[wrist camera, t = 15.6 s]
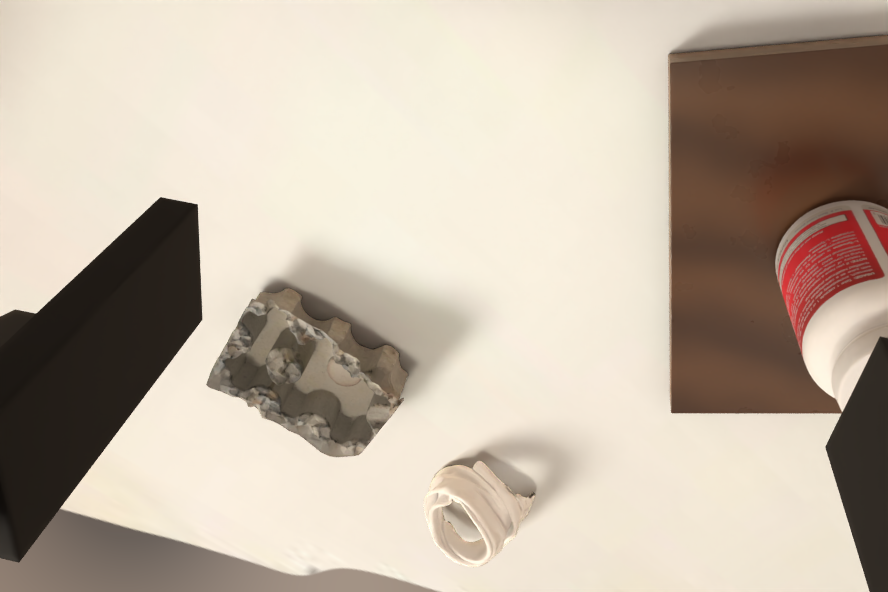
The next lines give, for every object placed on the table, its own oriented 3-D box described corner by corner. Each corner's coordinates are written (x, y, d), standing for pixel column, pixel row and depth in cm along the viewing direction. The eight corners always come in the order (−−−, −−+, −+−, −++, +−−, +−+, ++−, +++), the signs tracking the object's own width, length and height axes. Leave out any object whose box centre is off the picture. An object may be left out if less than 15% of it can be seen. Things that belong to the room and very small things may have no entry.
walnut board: (668, 53, 39) (670, 63, 38) (1059, 19, 36) (1076, 28, 35) (669, 397, 49) (671, 413, 48) (975, 396, 46) (986, 413, 45)
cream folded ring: (496, 541, 59) (491, 603, 55) (407, 509, 58) (395, 570, 54) (548, 475, 55) (547, 538, 51) (452, 439, 53) (444, 501, 50)
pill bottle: (765, 304, 44) (804, 449, 34) (782, 194, 40) (831, 321, 31) (895, 309, 42) (973, 460, 33) (924, 196, 39) (1018, 329, 30)
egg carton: (425, 363, 51) (411, 406, 48) (363, 435, 55) (347, 480, 52) (272, 267, 49) (247, 304, 46) (220, 349, 53) (193, 389, 50)
